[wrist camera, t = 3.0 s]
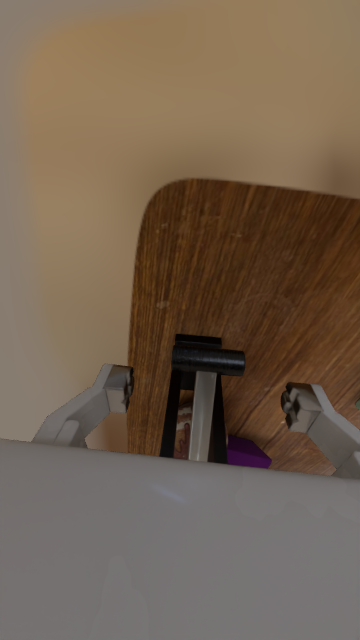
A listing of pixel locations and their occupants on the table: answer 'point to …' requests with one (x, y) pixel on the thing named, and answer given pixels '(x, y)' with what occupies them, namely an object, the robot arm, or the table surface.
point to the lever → (205, 388)
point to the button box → (358, 404)
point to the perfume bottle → (246, 453)
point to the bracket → (187, 382)
